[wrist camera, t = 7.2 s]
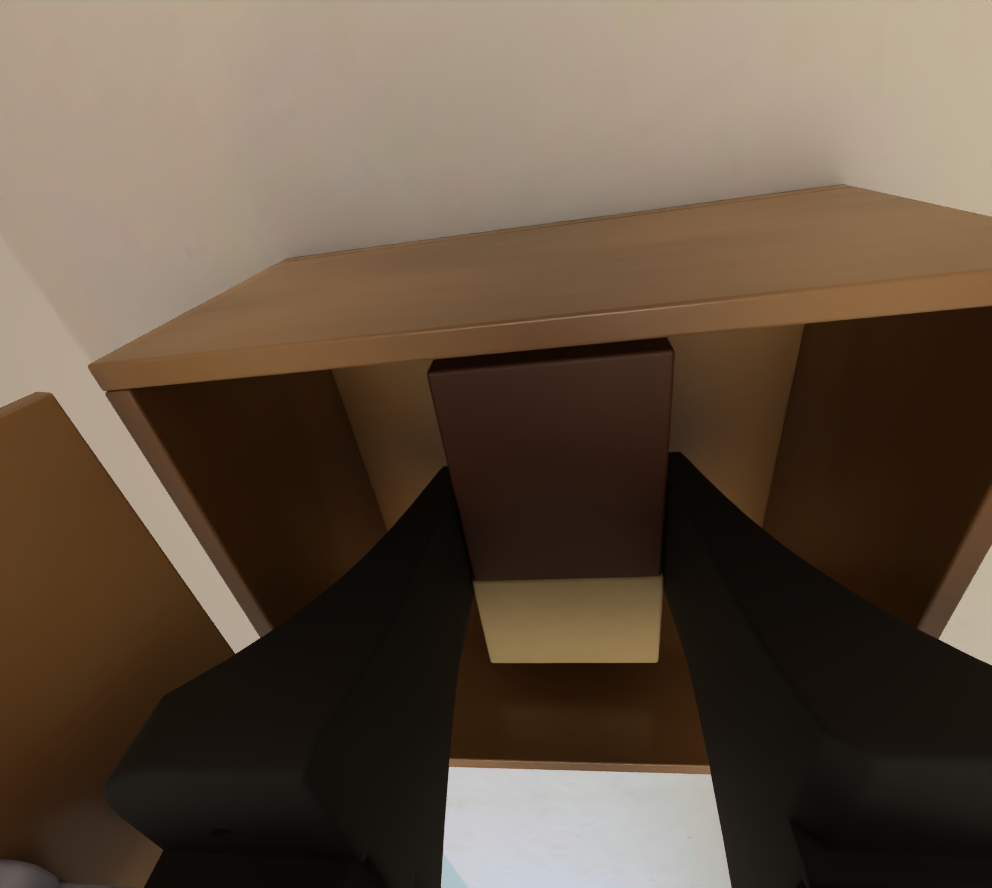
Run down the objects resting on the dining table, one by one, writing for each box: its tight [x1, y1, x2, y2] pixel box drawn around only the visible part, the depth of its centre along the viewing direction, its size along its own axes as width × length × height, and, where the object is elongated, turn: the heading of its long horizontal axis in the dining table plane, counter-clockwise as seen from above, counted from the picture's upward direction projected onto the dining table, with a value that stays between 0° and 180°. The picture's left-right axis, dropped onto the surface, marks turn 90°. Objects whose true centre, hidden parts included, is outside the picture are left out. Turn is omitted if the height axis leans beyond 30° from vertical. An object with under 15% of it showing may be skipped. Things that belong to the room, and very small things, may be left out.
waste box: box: [88, 184, 992, 774], centre depth 11 cm, size 12×11×6 cm
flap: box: [0, 392, 235, 888], centre depth 7 cm, size 6×11×1 cm
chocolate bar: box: [427, 337, 675, 663], centre depth 11 cm, size 8×4×3 cm, turn 8°
